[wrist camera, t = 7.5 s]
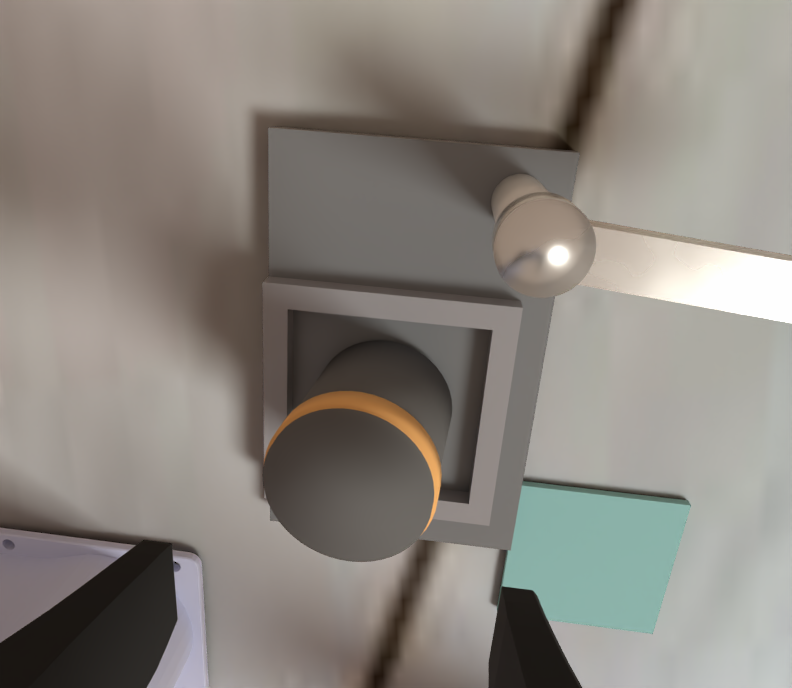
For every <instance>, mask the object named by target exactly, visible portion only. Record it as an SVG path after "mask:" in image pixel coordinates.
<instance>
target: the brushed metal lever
mask: <svg viewBox="0 0 792 688" xmlns="http://www.w3.org/2000/svg"><path fill="white" fill-rule="evenodd" d="M492 249H493V255H494V260H495V264H496V267H497V270H498V272H499V274H500V275H501V277H502V278H503V280H504V281H505V282H506V283H507V284H508V285H509V286H510V287H511V288H513V289H514V290H515V291H517V292H519V293H521V294H524V295H526V296H530V297H536V298H548V297H554V296H558V295H560V294H563V293H565V292H567V291H569V290H571V289H572V288H574V287H575V286H576V285H583V286H588V287H594V288H599V289H605V290H611V291H616V292H622V293H627V294H633V295H638V296H644V297H650V298H655V299H661V300H666V301H672V302H677V303H683V304H688V305H694V306H700V307H705V308H711V309H716V310H722V311H727V312H733V313H739V314H744V315H750V316H755V317H761V318H766V319H772V320H777V321H783V322H789V323H792V255H786V254H780V253H775V252H769V251H763V250H758V249H752V248H746V247H740V246H735V245H729V244H723V243H718V242H712V241H706V240H701V239H695V238H689V237H684V236H678V235H672V234H667V233H661V232H655V231H649V230H644V229H638V228H632V227H627V226H621V225H615V224H610V223H604V222H598V221H593V220H588V218H587V217H586V216H585V215H584V214H583V213H582V211H581V210H579V209H578V208H577V207H576V206H575V205H574V204H573V203H572V202H571V201H569V200H568V199H566V198H565V197H563V196H560V195H558V194H555V193H551V192H534V193H530V194H526V195H524V196H521V197H519V198H517V199H516V200H514V201H513V202H511V203H510V204H509V205H508V206H507V207H506V208H505V209H504V210H503V211H502V212H501V214H500V215H499V217H498V219H497V221H496V223H495V225H494V229H493V233H492Z"/></svg>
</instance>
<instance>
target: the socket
mask: <svg viewBox="0 0 792 688" xmlns="http://www.w3.org/2000/svg"><path fill="white" fill-rule="evenodd" d="M579 155H580V153H579V152H577V151H572V150H560V149H547V148H535V147H523V146H510V145H498V144H486V143H474V142H461V141H449V140H437V139H424V138H412V137H400V136H387V135H375V134H363V133H350V132H338V131H326V130H313V129H301V128H289V127H268V194H269V277H268V278H266V279H265V280H264V281H263V282H262V301H263V410H264V458H265V454H266V450H267V447H268V445H269V443H270V441H271V439H272V437H273V436H274V434H275V433H276V431H277V430H278V428H279V427H280V426H281V424H282V423H283V421H284V420H285V419H286V417H287V416H288V415H289V414H290V413H291V412H292V411H293V410H294V409H295V408H296V407H297V406H299V405H300V404H301V402H302V401H303V399H304V398H305V396H306V395H307V394H308V392H309V391H310V389H311V388H312V386H313V385H314V384H315V382H316V381H317V379H318V378H319V376H320V375H321V374H322V372H323V371H324V369H325V368H326V366H327V365H328V364H329V362H330V361H331V360H332V359H333V358H334V357H335V356H336V355H337V354H339V353H340V352H341V351H343V350H344V349H346V348H348V347H350V346H352V345H355V344H358V343H361V342H366V341H377V340H382V341H391V342H396V343H400V344H403V345H405V346H408V347H410V348H412V349H414V350H416V351H418V352H419V353H421V354H422V355H424V356H425V357H426V358H428V359H429V360H430V361H431V362H432V363H433V364H434V365H435V366H436V367H437V368H438V370H439V371H440V372H441V374H442V375H443V377H444V379H445V381H446V383H447V385H448V388H449V390H450V394H451V399H452V417H451V422H450V426H449V431H448V436H447V441H446V445H445V450H444V455H443V460H442V464H441V472H442V478H441V487H440V492H439V497H438V502H437V506H436V511H435V514H434V516H433V518H432V521H431V522H430V524H429V526H428V527H427V529H426V530H425V531H424V532H423V534H422V535H421V536H420V537H419V538H418V539H422V540H430V541H438V542H446V543H454V544H462V545H470V546H478V547H486V548H494V549H502V550H510V551H511V546H512V540H513V535H514V529H515V523H516V517H517V512H518V506H519V500H520V494H521V489H522V483H523V477H524V471H525V466H526V460H527V454H528V448H529V443H530V437H531V431H532V425H533V420H534V414H535V408H536V402H537V396H538V391H539V385H540V379H541V373H542V368H543V362H544V356H545V350H546V345H547V339H548V333H549V327H550V322H551V316H552V310H553V304H554V299H555V296H554V297H548V298H536V297H530V296H526V295H524V294H521V293H519V292H517V291H515V290H514V289H513V288H511V287H510V286H509V285H508V284H507V283H506V282H505V281H504V280H503V278H502V277H501V275H500V274H499V272H498V270H497V267H496V264H495V260H494V255H493V249H492V233H493V229H494V225H495V223H496V221H497V219H498V217H499V215H500V214H501V212H502V211H503V210H504V209H505V208H506V207H507V206H508V205H509V204H510V203H511V202H513V201H514V200H516V199H517V198H519V197H521V196H524V195H526V194H530V193H534V192H551V193H555V194H558V195H560V196H563V197H565V198H566V199H568V200H569V201H572V195H573V189H574V183H575V178H576V172H577V166H578V160H579ZM264 498H266V495H265V490H264ZM270 521H278V519H277V518H276V516H275V515H274V513H273V511H272V509H271V507H270ZM278 522H279V521H278Z"/></svg>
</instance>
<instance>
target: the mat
mask: <svg viewBox="0 0 792 688" xmlns="http://www.w3.org/2000/svg"><path fill="white" fill-rule="evenodd" d="M690 507H691V505H690V503H689V501H688V500H680V499H672V498H663V497H655V496H646V495H638V494H629V493H621V492H612V491H604V490H595V489H586V488H578V487H569V486H561V485H552V484H544V483H535V482H527V481H523V483H522V489H521V494H520V500H519V506H518V512H517V517H516V523H515V529H514V535H513V540H512V546H511V551H510V550H507V553H506V558H505V564H504V570H503V576H502V582H501V588H502V586H504V587H512V588H520V589H528V590H533V591H534V592H535V593H536V595H537V596H538V599H539V601H540V604H541V606H542V608H543V611H544V613H545V615H546V618H547V620H552V621H559V622H567V623H574V624H582V625H590V626H597V627H605V628H612V629H620V630H627V631H635V632H642V633H650V634H653V631H654V628H655V625H656V621H657V618H658V614H659V611H660V608H661V604H662V601H663V598H664V594H665V591H666V588H667V584H668V581H669V577H670V574H671V571H672V567H673V564H674V561H675V557H676V554H677V551H678V547H679V544H680V541H681V537H682V534H683V530H684V527H685V524H686V520H687V517H688V514H689V510H690ZM501 588H500V594H501ZM500 594H499V599H498V605H499V600H500ZM498 605H497V611H498Z"/></svg>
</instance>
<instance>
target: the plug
mask: <svg viewBox="0 0 792 688" xmlns="http://www.w3.org/2000/svg"><path fill="white" fill-rule="evenodd" d="M451 417H452V399H451V394H450V390H449V388H448V385H447V383H446V381H445V379H444V377H443V375H442V374H441V372H440V371H439V370H438V368H437V367H436V366H435V365H434V364H433V363H432V362H431V361H430V360H429V359H428V358H426V357H425V356H424V355H422V354H421V353H419V352H418V351H416V350H414V349H412V348H410V347H408V346H405V345H403V344H400V343H396V342H391V341H382V340H377V341H366V342H361V343H358V344H355V345H352V346H350V347H348V348H346V349H344V350H343V351H341V352H340V353H339V354H337V355H336V356H335V357H334V358H333V359H332V360H331V361H330V362H329V364H328V365H327V366H326V368H325V369H324V371H323V372H322V374H321V375H320V376H319V378H318V379H317V381H316V382H315V384H314V385H313V386H312V388H311V389H310V391H309V392H308V394H307V395H306V396H305V398H304V399H303V401H302V402H301V404H300V405H299V406H297V407H296V408H295V409H294V410H293V411H292V412H291V413H290V414H289V415H288V416H287V417H286V419H285V420H284V421H283V423H282V424H281V426H280V427H279V428H278V430H277V431H276V433H275V434H274V436H273V437H272V439H271V441H270V443H269V445H268V447H267V450H266V454H265V458H264V467H263V486H264V490H265V495H266V498H267V500H268V503H269V505H270V507H271V509H272V511H273V513H274V515H275V516H276V518H277V519H278V521H279V522H280V523H281V524H282V525H283V527H284V528H285V529H286V530H287V531H288V532H289V533H290V534H291V535H292V536H293V537H295V538H296V539H297V540H299V541H300V542H301V543H303V544H304V545H306V546H308V547H309V548H311V549H313V550H315V551H317V552H319V553H321V554H324V555H327V556H329V557H332V558H336V559H340V560H346V561H355V562H367V561H376V560H382V559H385V558H388V557H392V556H394V555H396V554H398V553H400V552H402V551H404V550H405V549H407V548H408V547H410V546H411V545H412V544H413V543H414V542H415V541H416V540H417V539H418V538H419V537H420V536H421V535H422V534H423V532H424V531H425V530H426V529H427V527H428V526H429V524H430V522H431V521H432V518H433V516H434V514H435V511H436V506H437V502H438V497H439V492H440V487H441V478H442V472H441V464H442V460H443V455H444V450H445V445H446V441H447V436H448V431H449V426H450V422H451Z"/></svg>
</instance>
